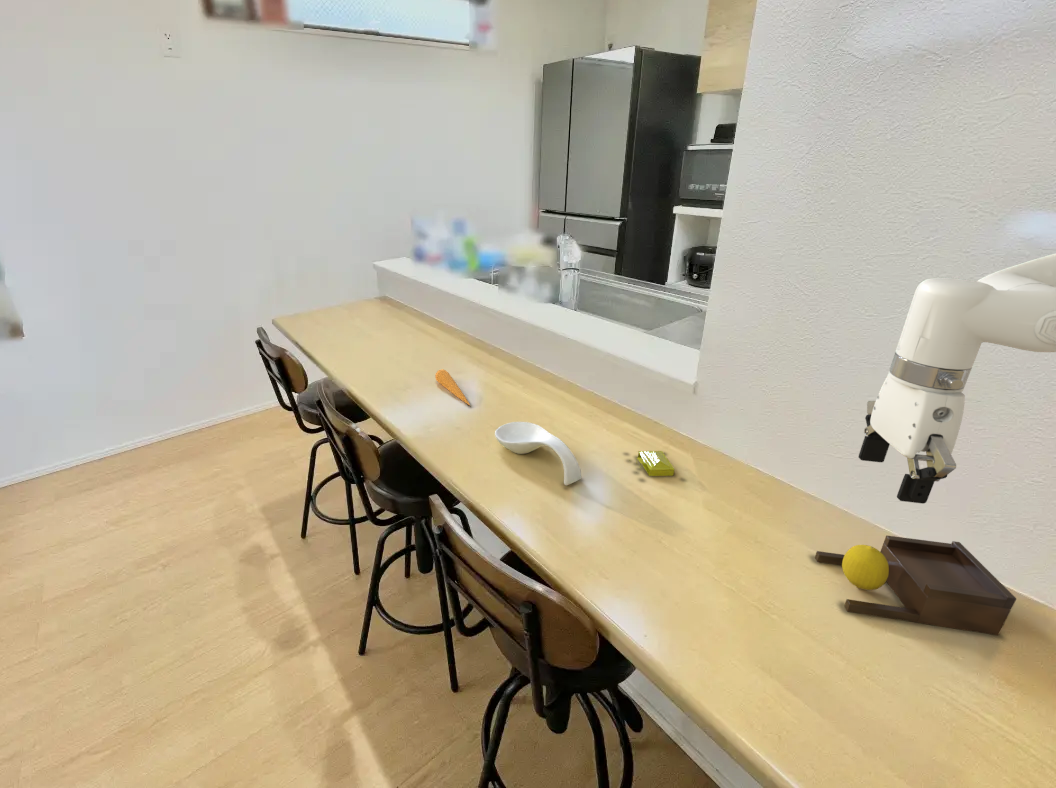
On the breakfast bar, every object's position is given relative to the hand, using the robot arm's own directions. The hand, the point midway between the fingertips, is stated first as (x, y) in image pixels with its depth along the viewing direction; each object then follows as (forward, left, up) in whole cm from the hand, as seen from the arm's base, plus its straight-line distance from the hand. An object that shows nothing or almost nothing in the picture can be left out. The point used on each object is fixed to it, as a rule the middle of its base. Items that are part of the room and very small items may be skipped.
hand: (889, 479), depth 71 cm
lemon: (-1, 0, -21) cm, 21 cm away
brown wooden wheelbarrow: (-7, 0, -21) cm, 22 cm away
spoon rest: (+52, -27, -21) cm, 62 cm away
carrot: (+78, -55, -21) cm, 98 cm away
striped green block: (+26, -28, -21) cm, 44 cm away
